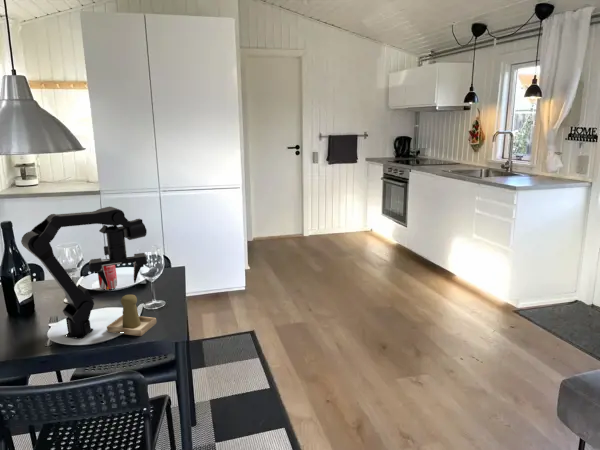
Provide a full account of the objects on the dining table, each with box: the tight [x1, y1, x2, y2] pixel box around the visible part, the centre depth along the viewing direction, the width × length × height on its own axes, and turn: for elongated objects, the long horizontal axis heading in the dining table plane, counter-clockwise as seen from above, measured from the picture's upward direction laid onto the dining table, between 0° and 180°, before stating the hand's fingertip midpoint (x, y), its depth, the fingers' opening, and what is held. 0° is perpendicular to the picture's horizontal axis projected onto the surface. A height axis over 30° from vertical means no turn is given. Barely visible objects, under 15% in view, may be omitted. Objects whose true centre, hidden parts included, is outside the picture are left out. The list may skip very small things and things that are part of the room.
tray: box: [106, 314, 157, 337], centre depth 157 cm, size 13×10×2 cm
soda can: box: [97, 258, 118, 291], centre depth 189 cm, size 7×7×12 cm
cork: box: [120, 294, 141, 329], centre depth 156 cm, size 6×6×11 cm
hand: (121, 284), depth 161 cm, fingers open, 9 cm apart
